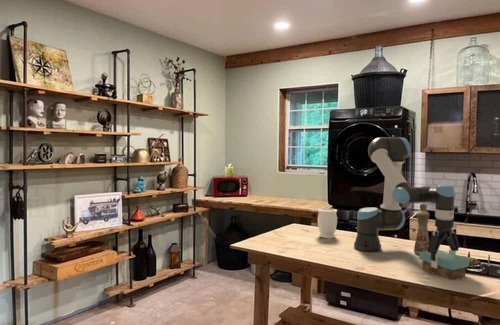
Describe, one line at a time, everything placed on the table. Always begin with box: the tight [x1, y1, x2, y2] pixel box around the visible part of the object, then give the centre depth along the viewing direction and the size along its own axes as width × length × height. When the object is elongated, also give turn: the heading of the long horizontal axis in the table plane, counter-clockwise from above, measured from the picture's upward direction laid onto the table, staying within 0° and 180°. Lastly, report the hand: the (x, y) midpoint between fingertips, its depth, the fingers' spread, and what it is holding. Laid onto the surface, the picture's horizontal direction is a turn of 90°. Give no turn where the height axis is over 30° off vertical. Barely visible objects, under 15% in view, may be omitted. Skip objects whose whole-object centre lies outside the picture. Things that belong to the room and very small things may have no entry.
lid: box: [418, 249, 470, 270], centre depth 166 cm, size 17×11×4 cm, turn 25°
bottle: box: [413, 203, 431, 255], centre depth 198 cm, size 9×9×28 cm
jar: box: [317, 207, 338, 239], centre depth 238 cm, size 13×12×18 cm
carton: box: [457, 254, 477, 266], centre depth 182 cm, size 8×16×4 cm, turn 45°
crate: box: [422, 260, 467, 281], centre depth 166 cm, size 15×9×7 cm, turn 25°
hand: (443, 265), depth 166 cm, fingers closed on lid, 11 cm apart
